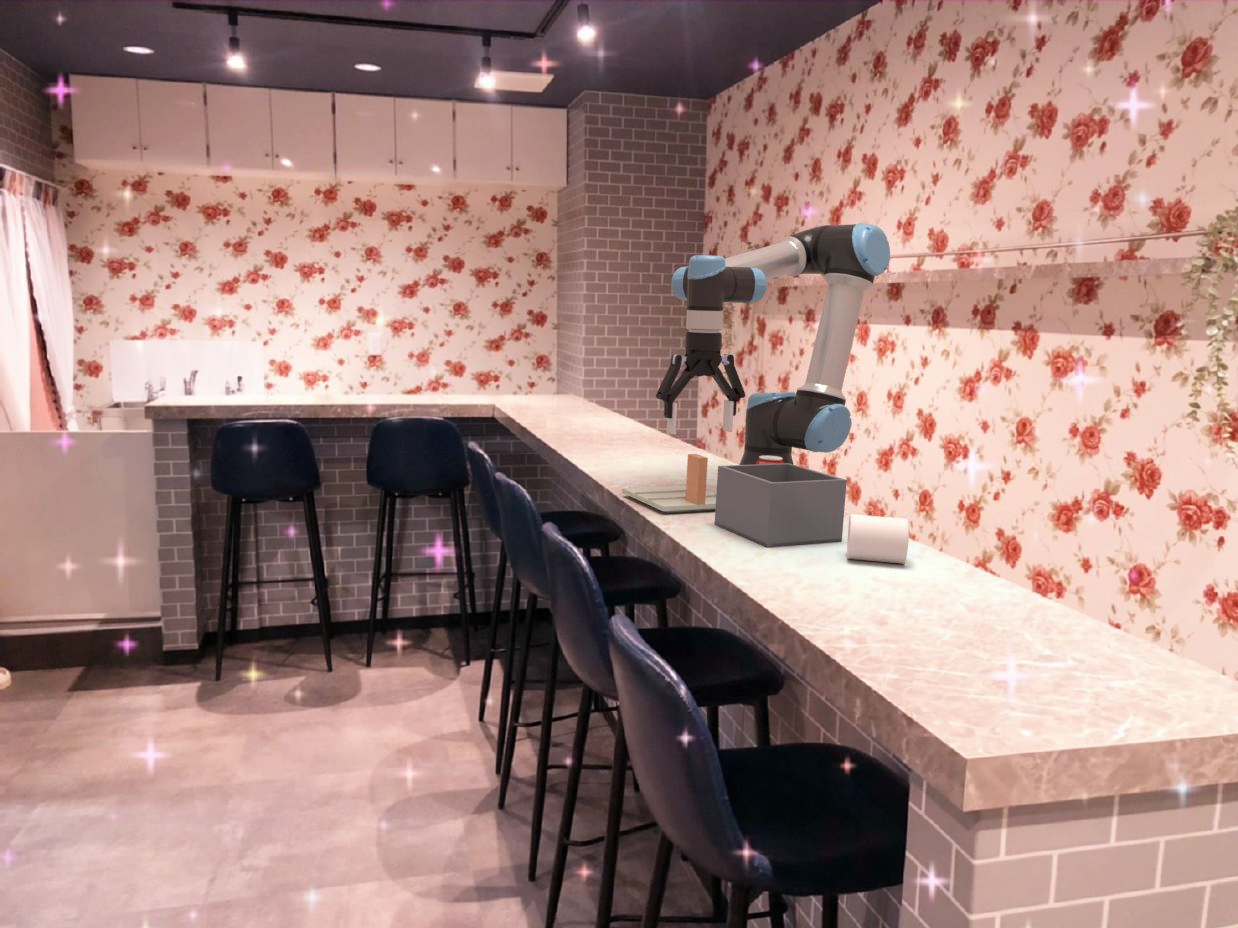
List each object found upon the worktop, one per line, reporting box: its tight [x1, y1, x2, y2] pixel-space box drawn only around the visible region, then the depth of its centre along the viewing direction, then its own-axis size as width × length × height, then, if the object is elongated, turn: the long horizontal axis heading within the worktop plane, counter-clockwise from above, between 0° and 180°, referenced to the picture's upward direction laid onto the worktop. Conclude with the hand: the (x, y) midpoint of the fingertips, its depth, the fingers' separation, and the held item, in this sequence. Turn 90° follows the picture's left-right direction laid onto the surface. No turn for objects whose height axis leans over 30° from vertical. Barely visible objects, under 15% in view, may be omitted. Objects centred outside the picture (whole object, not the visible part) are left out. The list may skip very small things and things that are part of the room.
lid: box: [621, 453, 716, 514], centre depth 217 cm, size 18×20×12 cm
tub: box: [714, 463, 848, 548], centre depth 193 cm, size 17×19×12 cm
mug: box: [846, 513, 910, 565], centre depth 178 cm, size 12×10×8 cm
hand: (699, 432), depth 209 cm, fingers open, 13 cm apart
